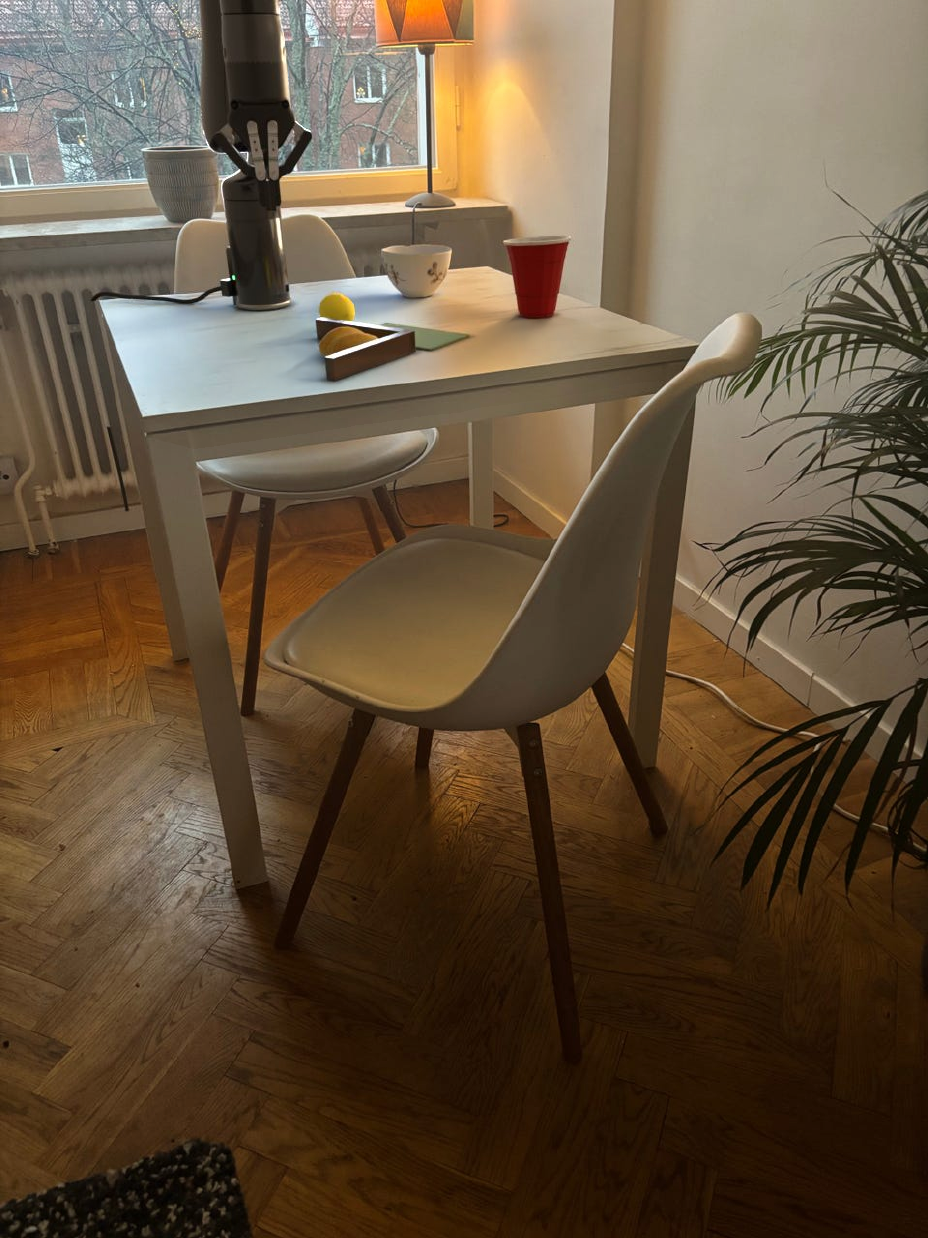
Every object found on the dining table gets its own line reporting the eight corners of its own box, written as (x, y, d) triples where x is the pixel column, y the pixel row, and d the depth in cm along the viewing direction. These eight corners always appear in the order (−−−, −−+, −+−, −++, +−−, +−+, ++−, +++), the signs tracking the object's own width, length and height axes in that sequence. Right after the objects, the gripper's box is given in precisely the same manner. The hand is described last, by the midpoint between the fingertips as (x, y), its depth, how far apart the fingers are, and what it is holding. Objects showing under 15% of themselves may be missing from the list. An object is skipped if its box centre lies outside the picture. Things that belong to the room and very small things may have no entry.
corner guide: (239, 363, 130) (236, 341, 128) (323, 337, 142) (322, 317, 141) (334, 381, 121) (332, 358, 120) (415, 351, 134) (414, 330, 132)
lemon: (364, 329, 146) (362, 293, 144) (335, 335, 143) (332, 298, 141) (339, 322, 151) (336, 287, 148) (311, 327, 148) (307, 292, 145)
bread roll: (345, 369, 126) (342, 339, 124) (311, 356, 133) (308, 327, 131) (395, 358, 131) (393, 329, 129) (360, 346, 137) (358, 318, 135)
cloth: (345, 337, 142) (345, 335, 142) (386, 324, 149) (386, 322, 149) (430, 350, 134) (430, 348, 134) (469, 336, 141) (469, 334, 141)
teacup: (467, 294, 169) (466, 247, 165) (413, 304, 162) (410, 255, 158) (414, 283, 179) (412, 238, 175) (361, 293, 172) (358, 246, 168)
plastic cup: (542, 304, 160) (544, 229, 154) (582, 315, 152) (585, 236, 146) (489, 313, 155) (489, 235, 149) (528, 324, 147) (529, 243, 141)
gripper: (308, 58, 119) (320, 205, 128) (202, 58, 118) (221, 208, 126) (310, 57, 113) (322, 212, 122) (198, 58, 111) (219, 216, 120)
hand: (271, 210), depth 124 cm, fingers closed
